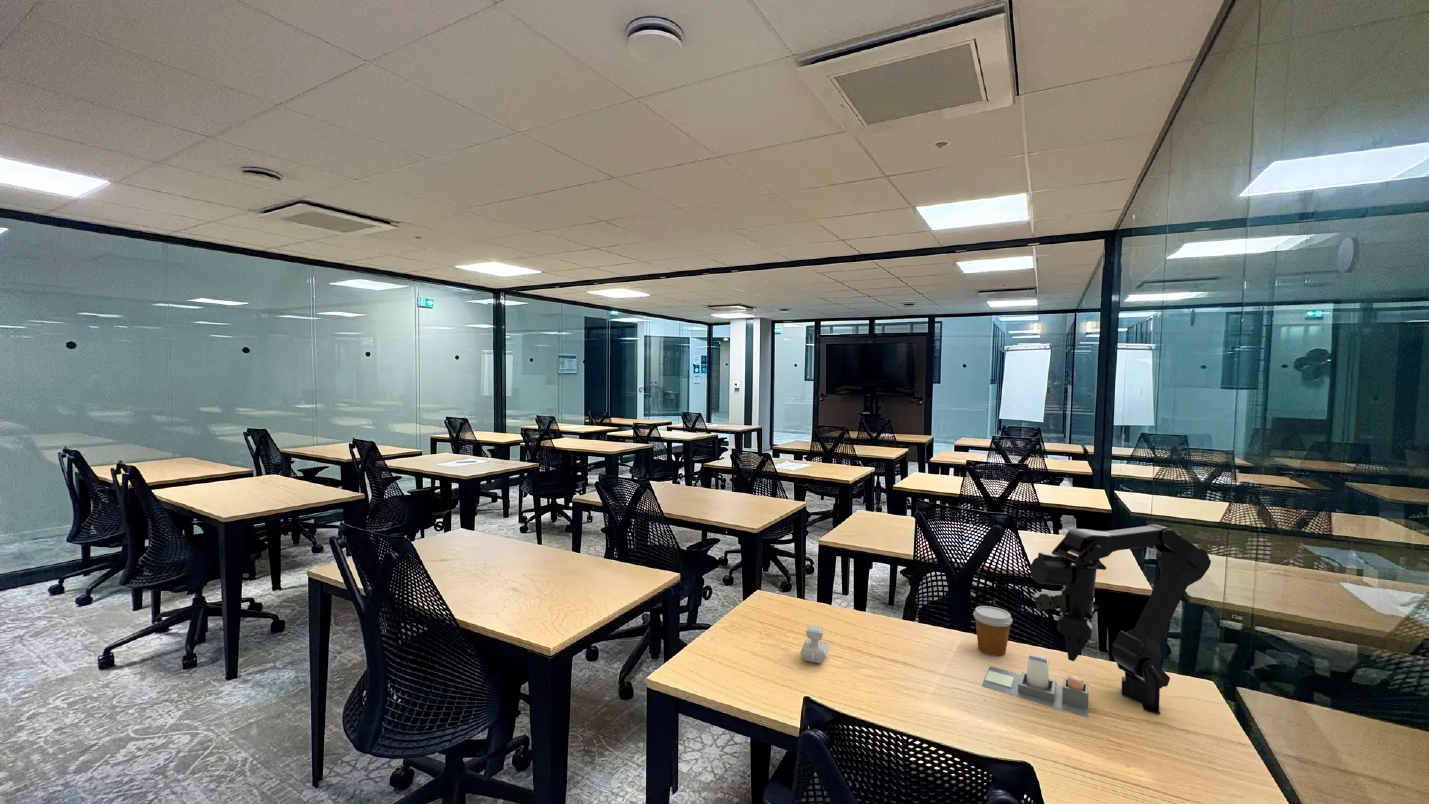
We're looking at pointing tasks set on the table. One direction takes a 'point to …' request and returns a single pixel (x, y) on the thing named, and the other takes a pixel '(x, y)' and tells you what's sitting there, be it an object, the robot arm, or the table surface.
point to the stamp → (814, 645)
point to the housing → (1039, 691)
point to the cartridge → (1037, 672)
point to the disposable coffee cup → (992, 629)
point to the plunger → (1075, 683)
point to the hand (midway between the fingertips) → (1072, 653)
